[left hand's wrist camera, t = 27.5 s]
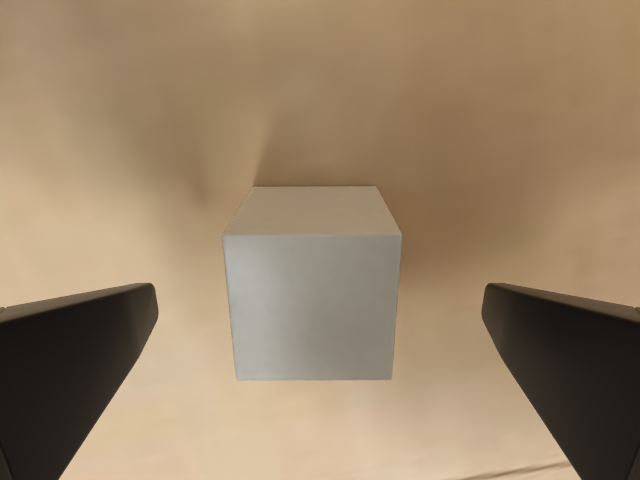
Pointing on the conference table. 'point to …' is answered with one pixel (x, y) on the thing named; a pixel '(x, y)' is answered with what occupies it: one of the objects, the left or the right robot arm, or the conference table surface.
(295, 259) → the block
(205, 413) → the conference table surface
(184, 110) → the conference table surface
